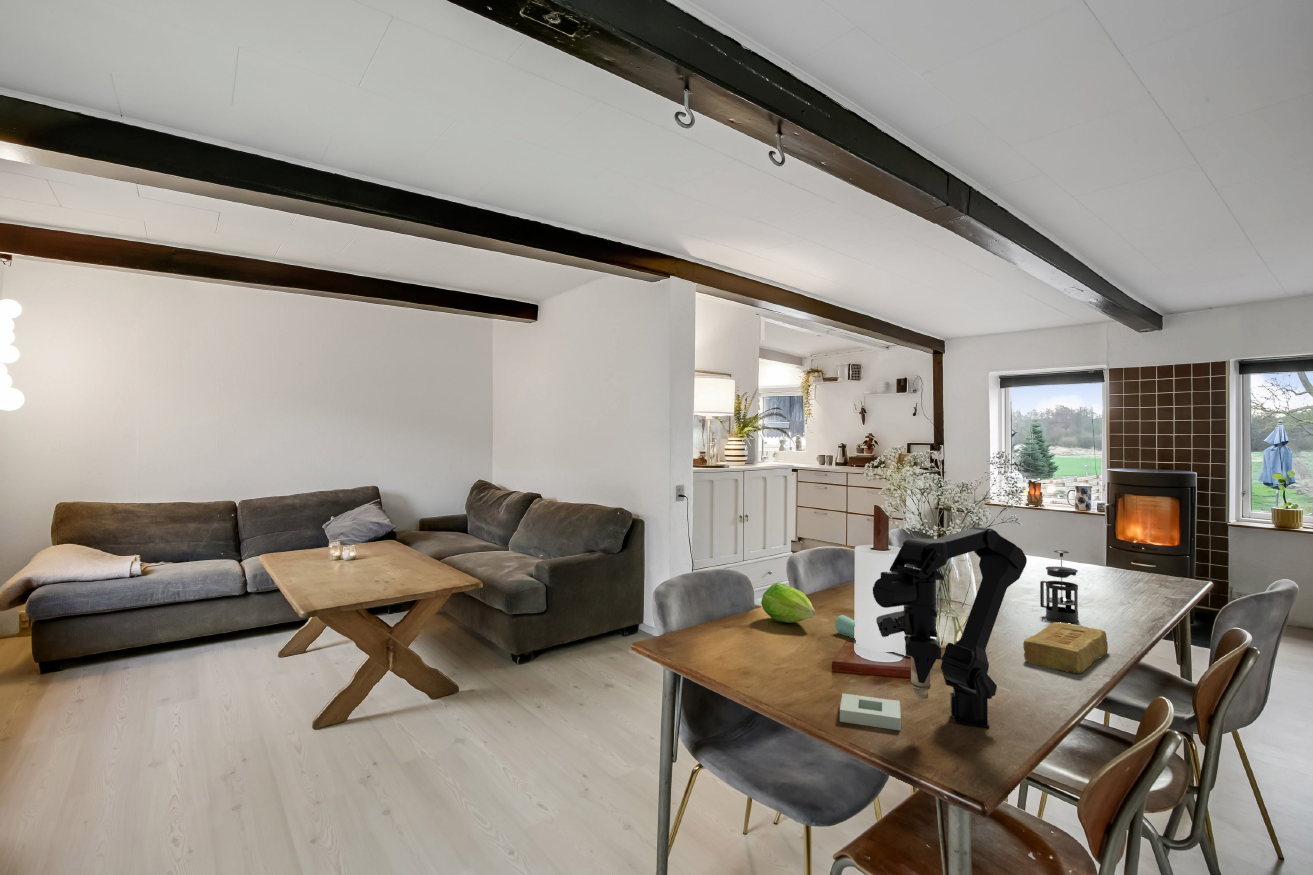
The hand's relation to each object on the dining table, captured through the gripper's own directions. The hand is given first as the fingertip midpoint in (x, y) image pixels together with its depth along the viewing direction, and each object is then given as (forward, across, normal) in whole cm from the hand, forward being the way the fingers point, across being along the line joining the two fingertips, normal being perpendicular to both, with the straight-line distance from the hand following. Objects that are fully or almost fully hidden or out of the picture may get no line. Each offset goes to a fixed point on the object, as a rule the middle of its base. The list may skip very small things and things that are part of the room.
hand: (920, 679), depth 125 cm
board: (+11, -4, -10) cm, 15 cm away
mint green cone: (+11, -55, -10) cm, 57 cm away
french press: (+10, -103, +48) cm, 114 cm away
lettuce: (+11, -67, -36) cm, 77 cm away
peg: (+4, 0, 0) cm, 4 cm away
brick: (+11, -62, +40) cm, 75 cm away
